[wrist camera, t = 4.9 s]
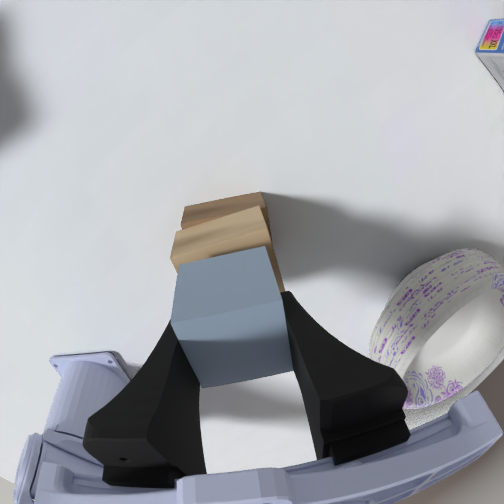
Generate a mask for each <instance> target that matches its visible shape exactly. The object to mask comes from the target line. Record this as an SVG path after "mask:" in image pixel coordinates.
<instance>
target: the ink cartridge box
mask: <svg viewBox="0 0 504 504" xmlns="http://www.w3.org/2000/svg"><path fill="white" fill-rule="evenodd" d="M476 54H477V56H478V57H479V58H480V60H481V61H482V62H483V63H484V65H485V66H486V67H487V68H488V70H489V71H490V72H491V74H492V75H493V76H494V78H495V79H496V80H497V82H498V83H499V85H500V86H501V88H502V89H503V90H504V19H493V20H490V21H489V23H488V25H487V27H486V29H485V31H484V34H483V36H482V38H481V40H480V42H479V44H478V46H477V48H476Z"/></svg>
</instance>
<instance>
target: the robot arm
mask: <svg viewBox="0 0 504 504" xmlns="http://www.w3.org/2000/svg"><path fill="white" fill-rule="evenodd" d="M280 294H281V297H282V301H283V307H284V313H285V320H286V326H287V332H288V339H289V345H290V351H291V358H292V365H293V370H294V373H295V375H296V378H297V381H298V383H299V387H300V390H301V393H302V397H303V401H304V405H305V409H306V413H307V418H308V422H309V426H310V430H311V435H312V439H313V443H314V448H315V453H316V457H317V460H316V461H312V462H308V463H303V464H299V465H294V466H289V467H284V468H258V469H251V470H244V471H235V472H226V473H216V474H207V473H206V467H205V461H204V454H203V447H202V438H201V429H200V417H199V391H200V382H199V380H198V378H197V376H196V374H195V373H194V371H193V369H192V367H191V365H190V363H189V361H188V359H187V357H186V355H185V353H184V351H183V349H182V346H181V344H180V342H179V340H178V338H177V336H176V334H175V332H174V330H173V327H172V325H171V319H170V321H169V323H168V325H167V327H166V329H165V331H164V333H163V334H162V336H161V338H160V340H159V341H158V343H157V345H156V346H155V348H154V350H153V351H152V353H151V354H150V356H149V357H148V359H147V361H146V362H145V363H144V365H143V366H142V368H141V369H140V370H139V371H138V373H137V374H136V375H135V376H134V378H133V379H132V380H131V381H130V379H129V378H128V377H127V375H126V374H125V372H124V371H123V369H122V368H121V366H120V365H119V363H118V362H117V360H116V359H115V357H114V356H113V355H112V354H111V353H109V352H104V353H94V354H83V355H72V356H58V357H50V359H49V362H50V363H51V365H52V366H53V367H54V368H55V370H56V371H57V372H58V373H59V375H60V376H61V380H60V382H59V385H58V388H57V391H56V394H55V397H54V400H53V403H52V406H51V409H50V412H49V416H48V419H47V422H46V426H45V429H44V433H43V434H42V436H41V435H40V434H38V433H34V435H33V434H32V435H29V436H28V438H27V440H26V442H25V445H24V448H23V451H22V454H21V457H20V461H19V465H18V469H17V473H16V479H15V489H14V494H13V501H14V503H15V504H393V503H396V502H398V501H400V500H402V499H404V498H407V497H409V496H411V495H413V494H415V493H417V492H419V491H421V490H423V489H425V488H427V487H429V486H431V485H433V484H435V483H437V482H439V481H440V480H442V479H444V478H446V477H448V476H450V475H451V474H453V473H455V472H457V471H458V470H460V469H462V468H464V467H465V466H467V465H469V464H470V463H472V462H474V461H475V460H477V459H478V458H480V457H481V456H482V455H483V454H484V453H485V452H486V451H487V450H488V449H489V448H490V447H491V446H492V445H493V444H494V443H495V442H496V441H497V440H498V439H499V438H500V437H501V436H502V434H503V431H502V430H501V428H500V426H499V424H498V423H497V421H496V419H495V417H494V416H493V414H492V412H491V411H490V409H489V407H488V406H487V404H486V402H485V401H484V399H483V398H482V396H481V394H480V393H479V391H475V392H473V393H471V394H469V395H467V396H465V397H463V398H462V399H460V400H458V401H456V402H455V403H454V404H453V405H452V406H451V407H450V409H449V411H448V413H447V414H445V415H442V416H440V417H438V418H436V419H434V420H432V421H430V422H427V423H425V424H423V425H421V426H418V427H416V428H414V429H411V430H409V429H408V427H407V425H406V423H405V421H404V419H405V418H406V417H405V414H404V412H403V410H402V408H403V406H404V403H405V401H406V398H407V395H408V389H407V387H406V385H405V383H404V381H403V380H402V378H401V377H400V376H399V374H398V373H397V372H396V370H395V369H394V368H391V367H389V366H386V365H383V364H381V363H378V362H376V361H373V360H371V359H369V358H367V357H365V356H363V355H361V354H360V353H358V352H356V351H354V350H353V349H351V348H349V347H348V346H346V345H345V344H343V343H342V342H340V341H339V340H338V339H336V338H335V337H333V336H332V335H331V334H330V333H328V332H327V331H326V330H325V329H324V328H323V327H322V326H320V325H319V324H318V323H317V322H316V321H315V320H314V319H313V318H312V317H311V316H310V315H309V314H308V313H307V312H306V311H305V309H304V308H303V307H302V306H301V305H300V304H299V302H298V301H297V300H296V298H295V297H294V296H293V294H292V293H291V292H290V291H285V292H280ZM31 498H32V499H34V500H35V501H33V500H32V499H31Z"/></svg>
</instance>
